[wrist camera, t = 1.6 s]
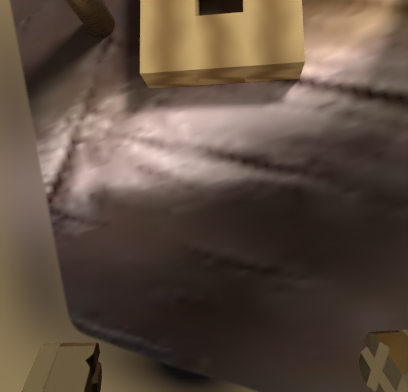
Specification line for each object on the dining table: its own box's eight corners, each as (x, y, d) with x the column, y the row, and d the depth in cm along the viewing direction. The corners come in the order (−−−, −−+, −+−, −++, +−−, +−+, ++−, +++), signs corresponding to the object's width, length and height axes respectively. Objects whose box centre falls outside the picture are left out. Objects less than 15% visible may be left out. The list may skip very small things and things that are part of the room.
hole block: (292, -61, 49) (296, -91, 45) (299, 78, 47) (304, 61, 42) (150, -45, 52) (141, -72, 47) (149, 88, 49) (139, 73, 45)
